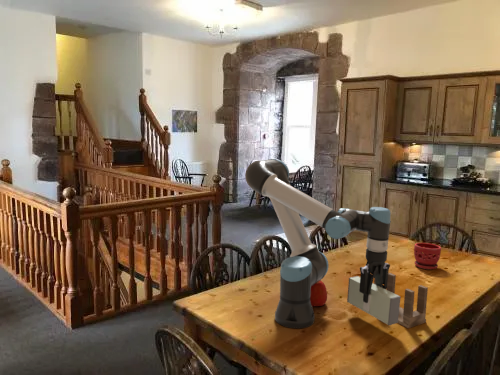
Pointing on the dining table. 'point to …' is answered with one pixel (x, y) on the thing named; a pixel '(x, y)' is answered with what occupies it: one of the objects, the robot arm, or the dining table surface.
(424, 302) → the u-shaped post stand
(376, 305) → the cream rectangular block
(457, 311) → the dining table surface
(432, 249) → the plant pot
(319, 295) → the apple
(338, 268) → the dining table surface
